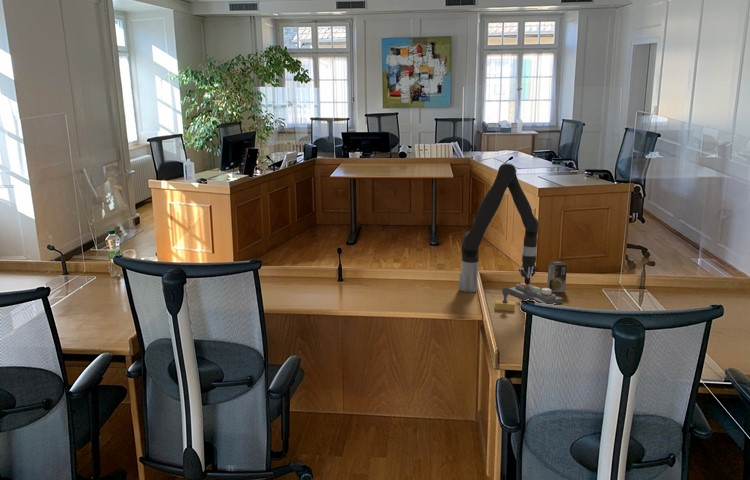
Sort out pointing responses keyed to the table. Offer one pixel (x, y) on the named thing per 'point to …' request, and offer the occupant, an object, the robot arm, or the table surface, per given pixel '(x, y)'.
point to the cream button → (546, 291)
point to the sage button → (535, 289)
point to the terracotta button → (524, 285)
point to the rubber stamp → (505, 302)
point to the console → (534, 295)
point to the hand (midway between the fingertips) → (527, 283)
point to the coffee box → (557, 276)
